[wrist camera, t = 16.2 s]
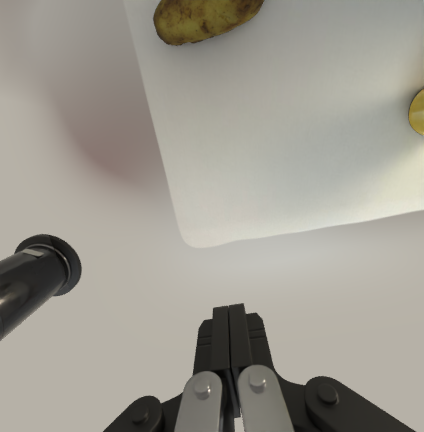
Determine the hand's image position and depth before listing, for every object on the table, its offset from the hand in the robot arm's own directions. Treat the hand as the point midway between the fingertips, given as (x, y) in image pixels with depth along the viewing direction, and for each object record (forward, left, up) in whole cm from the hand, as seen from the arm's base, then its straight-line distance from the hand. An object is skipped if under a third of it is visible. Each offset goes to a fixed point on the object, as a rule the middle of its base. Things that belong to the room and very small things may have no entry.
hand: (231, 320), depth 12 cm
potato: (+2, +24, -27) cm, 36 cm away
